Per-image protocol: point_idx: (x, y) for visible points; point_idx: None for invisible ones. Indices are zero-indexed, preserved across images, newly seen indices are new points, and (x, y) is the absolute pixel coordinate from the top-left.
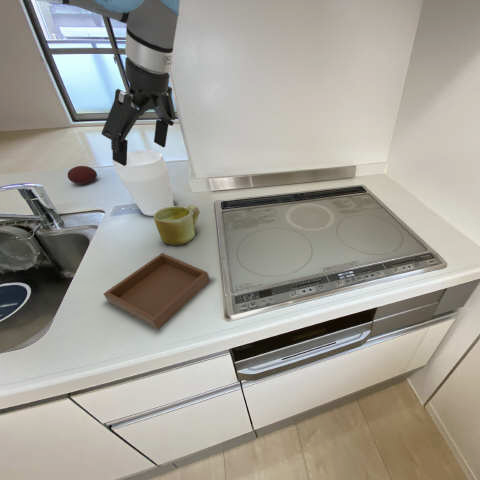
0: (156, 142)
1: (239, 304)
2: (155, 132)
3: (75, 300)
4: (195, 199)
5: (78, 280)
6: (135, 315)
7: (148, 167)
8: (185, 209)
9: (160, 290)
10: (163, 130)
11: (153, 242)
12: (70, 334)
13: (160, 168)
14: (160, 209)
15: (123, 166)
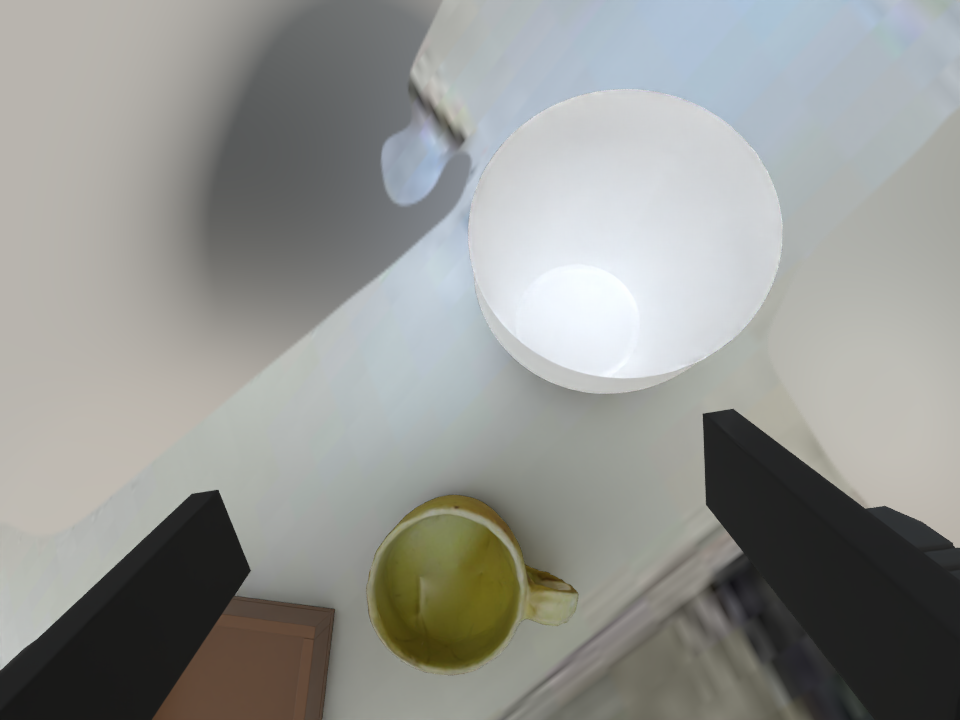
0: (709, 445)
1: None
2: (776, 485)
3: (142, 490)
4: (712, 410)
5: (196, 426)
6: None
7: (566, 371)
8: (517, 592)
9: (219, 705)
10: (844, 654)
11: (398, 485)
12: (66, 581)
13: (638, 386)
14: (449, 510)
15: (579, 139)
